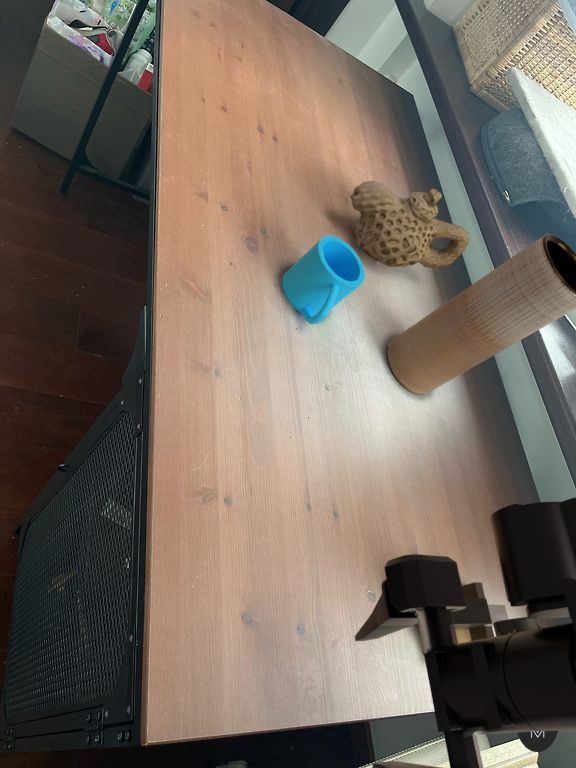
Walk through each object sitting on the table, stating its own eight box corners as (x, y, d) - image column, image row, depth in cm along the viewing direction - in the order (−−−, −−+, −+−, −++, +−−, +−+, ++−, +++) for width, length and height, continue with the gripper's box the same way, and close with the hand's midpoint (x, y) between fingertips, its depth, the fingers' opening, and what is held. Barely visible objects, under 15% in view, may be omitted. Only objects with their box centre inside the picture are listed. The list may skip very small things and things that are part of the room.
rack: (464, 588, 81) (485, 582, 79) (479, 654, 77) (502, 650, 75) (411, 586, 76) (432, 580, 73) (424, 657, 72) (447, 653, 69)
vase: (436, 401, 96) (603, 310, 77) (391, 387, 91) (558, 285, 72) (425, 347, 101) (579, 249, 82) (381, 331, 96) (535, 221, 76)
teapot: (322, 240, 97) (389, 177, 87) (328, 195, 104) (390, 132, 94) (419, 306, 106) (490, 256, 95) (419, 261, 113) (485, 210, 102)
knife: (430, 629, 69) (452, 624, 67) (425, 603, 71) (447, 597, 69) (506, 627, 77) (528, 623, 75) (500, 603, 79) (522, 599, 76)
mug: (285, 259, 89) (320, 225, 84) (329, 286, 93) (365, 255, 87) (275, 321, 82) (313, 288, 76) (323, 348, 86) (363, 318, 80)
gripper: (647, 832, 40) (458, 819, 50) (558, 541, 48) (413, 583, 59) (547, 874, 33) (356, 849, 44) (466, 531, 42) (323, 580, 53)
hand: (367, 699), depth 50 cm, fingers open, 9 cm apart
